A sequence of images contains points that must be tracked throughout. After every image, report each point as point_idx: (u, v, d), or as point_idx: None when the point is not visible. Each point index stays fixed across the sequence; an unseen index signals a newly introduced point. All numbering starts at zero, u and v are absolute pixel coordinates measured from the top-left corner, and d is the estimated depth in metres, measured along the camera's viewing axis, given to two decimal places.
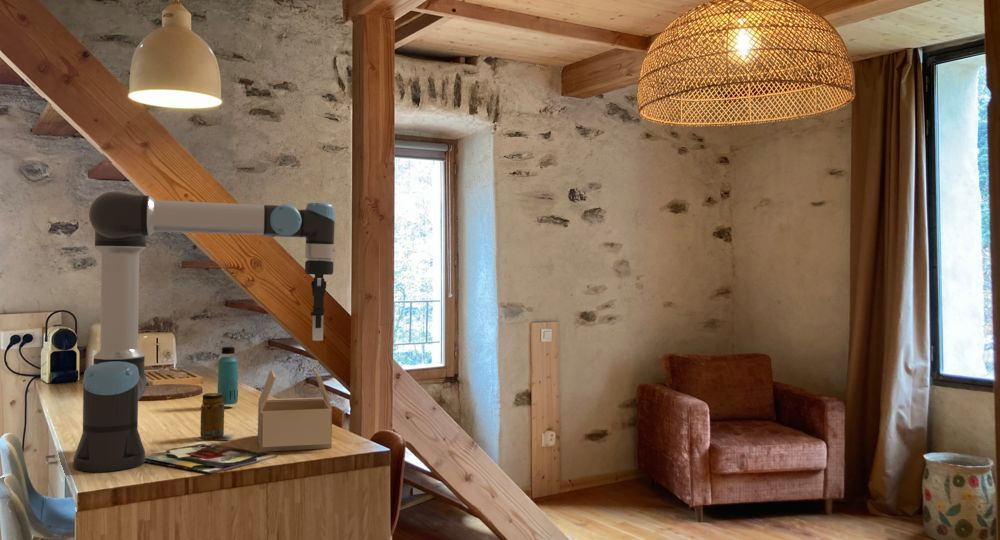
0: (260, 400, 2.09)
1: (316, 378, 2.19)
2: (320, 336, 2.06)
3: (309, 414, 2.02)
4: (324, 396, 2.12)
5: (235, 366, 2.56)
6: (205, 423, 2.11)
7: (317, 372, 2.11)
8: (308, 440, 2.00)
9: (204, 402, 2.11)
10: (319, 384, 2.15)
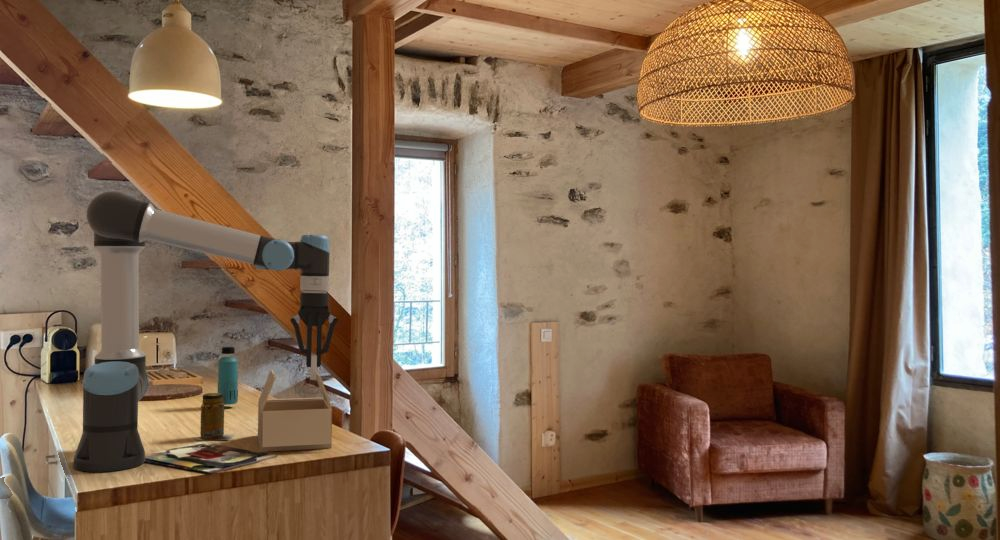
0: (260, 400, 2.09)
1: None
2: (310, 375, 2.10)
3: (309, 414, 2.02)
4: (324, 396, 2.12)
5: (235, 366, 2.56)
6: (205, 423, 2.11)
7: (317, 372, 2.11)
8: (308, 440, 2.00)
9: (204, 402, 2.11)
10: (319, 384, 2.15)
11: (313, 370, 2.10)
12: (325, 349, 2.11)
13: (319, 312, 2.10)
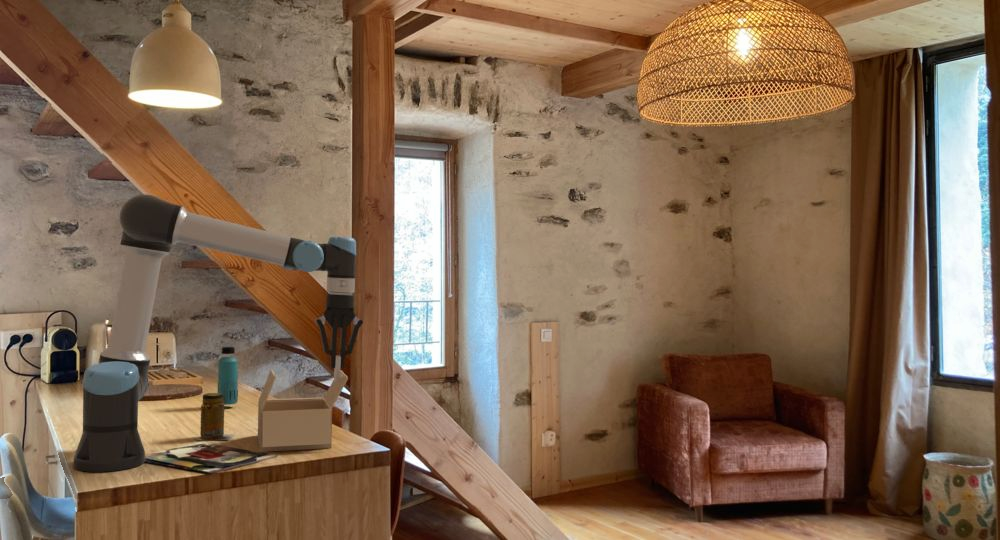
0: (260, 400, 2.09)
1: None
2: (334, 376, 2.12)
3: (309, 414, 2.02)
4: (331, 395, 2.12)
5: (235, 366, 2.56)
6: (205, 423, 2.11)
7: None
8: (308, 440, 2.00)
9: (204, 402, 2.11)
10: (334, 384, 2.16)
11: (337, 371, 2.12)
12: (349, 350, 2.13)
13: (344, 314, 2.13)
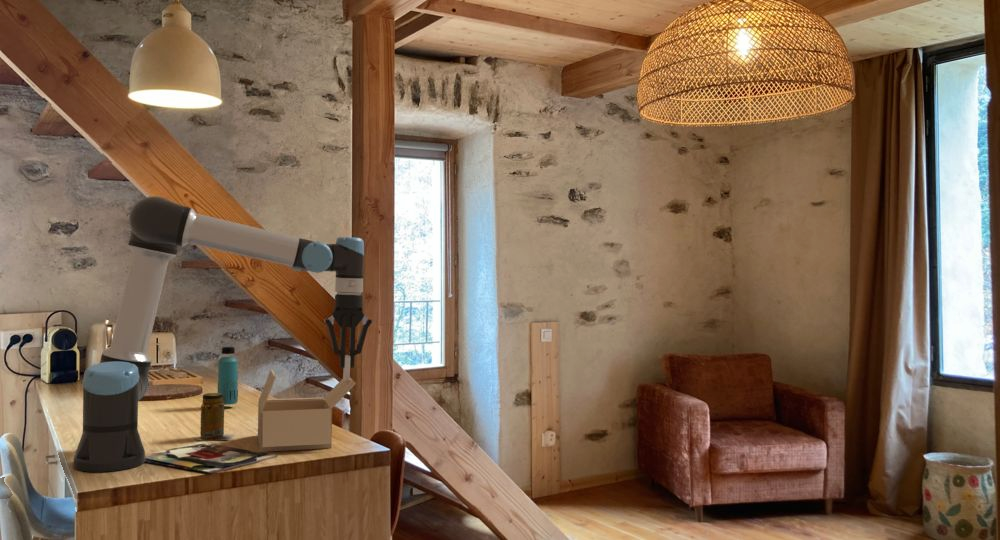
0: (260, 400, 2.09)
1: None
2: (344, 376, 2.13)
3: (309, 414, 2.02)
4: (333, 397, 2.12)
5: (235, 366, 2.56)
6: (205, 423, 2.11)
7: (351, 379, 2.14)
8: (308, 440, 2.00)
9: (204, 402, 2.11)
10: (338, 387, 2.16)
11: (347, 371, 2.13)
12: (359, 350, 2.14)
13: (353, 314, 2.13)
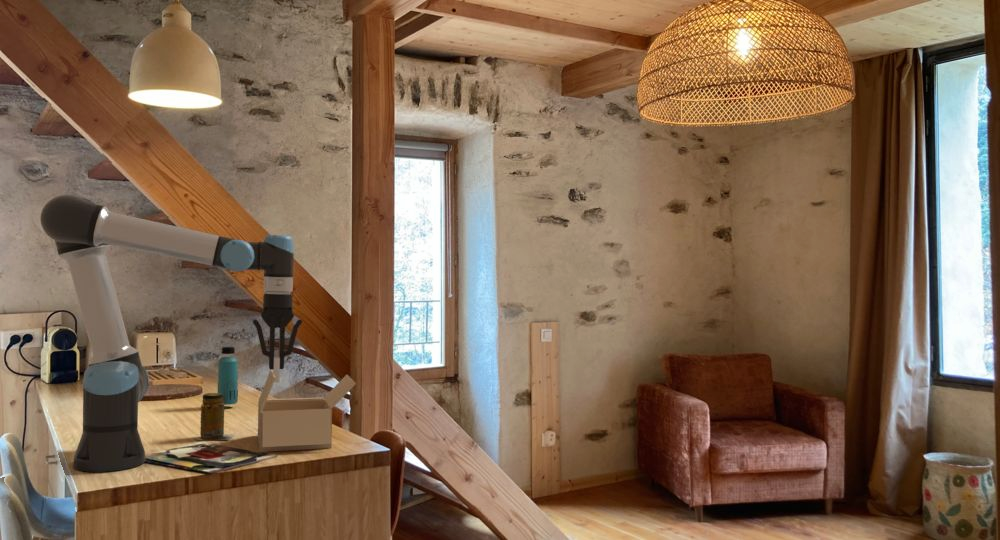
0: (260, 400, 2.09)
1: None
2: None
3: (309, 414, 2.02)
4: (333, 397, 2.12)
5: (235, 366, 2.56)
6: (205, 423, 2.11)
7: None
8: (308, 440, 2.00)
9: (204, 402, 2.11)
10: (338, 387, 2.16)
11: (276, 372, 2.07)
12: (289, 351, 2.08)
13: (282, 314, 2.07)
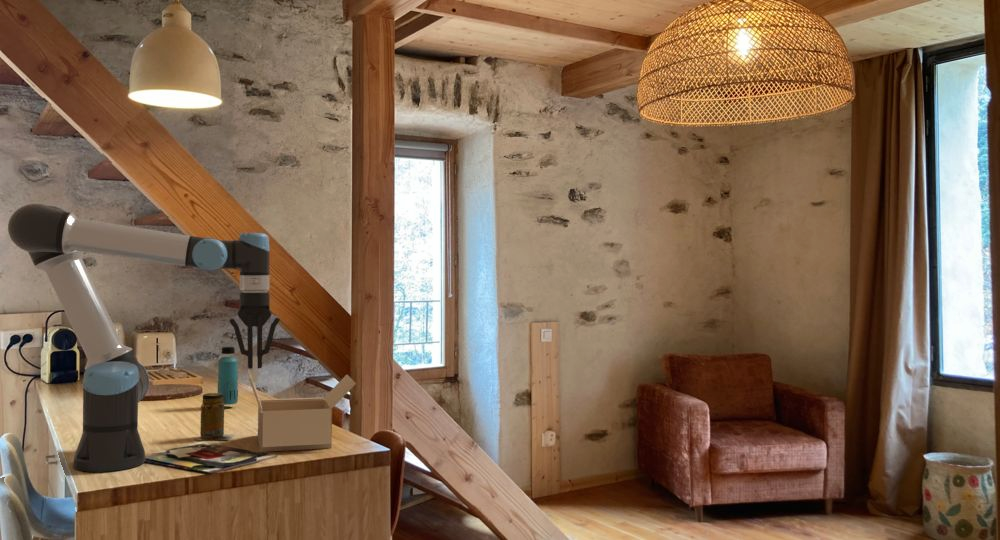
0: None
1: None
2: (252, 377, 2.05)
3: (309, 414, 2.02)
4: (333, 397, 2.12)
5: (235, 366, 2.56)
6: (205, 423, 2.11)
7: None
8: (308, 440, 2.00)
9: (204, 402, 2.11)
10: (338, 387, 2.16)
11: (254, 372, 2.05)
12: (266, 350, 2.06)
13: (259, 312, 2.05)
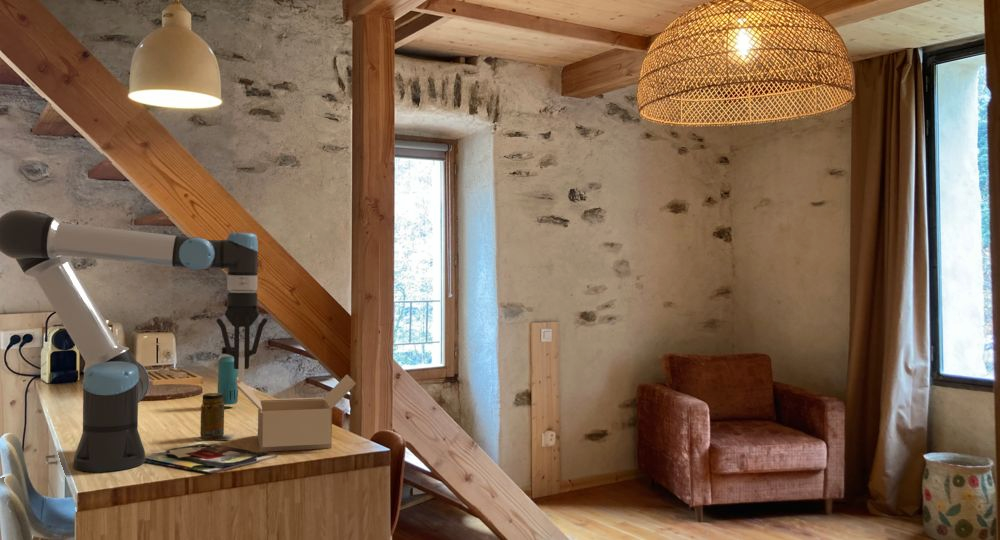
0: None
1: None
2: (238, 377, 2.04)
3: (309, 414, 2.02)
4: (333, 397, 2.12)
5: None
6: (205, 423, 2.11)
7: None
8: (308, 440, 2.00)
9: (204, 402, 2.11)
10: (338, 387, 2.16)
11: (241, 372, 2.04)
12: (254, 350, 2.05)
13: (247, 312, 2.04)
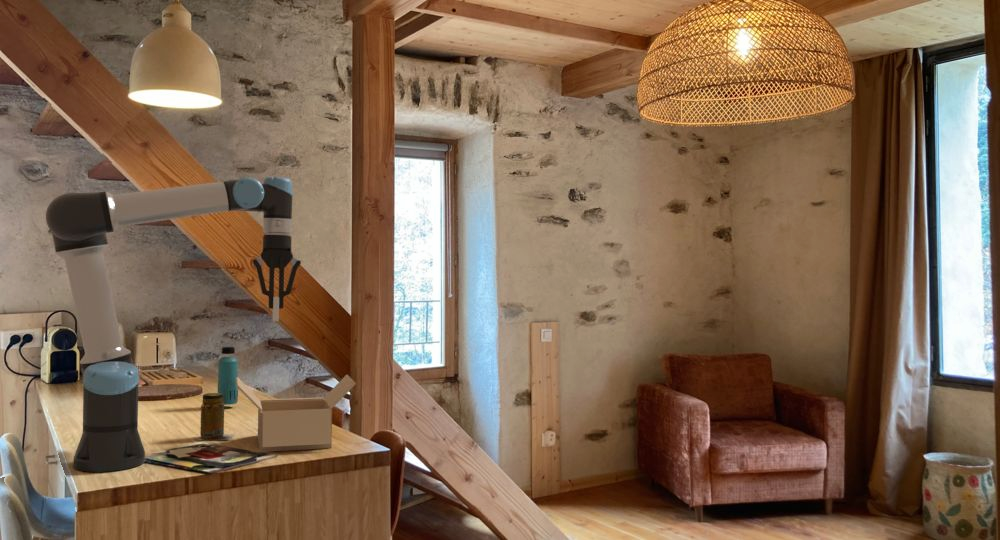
0: None
1: None
2: (273, 317, 2.13)
3: (309, 414, 2.02)
4: (333, 397, 2.12)
5: (235, 366, 2.56)
6: (205, 423, 2.11)
7: None
8: (308, 440, 2.00)
9: (204, 402, 2.11)
10: (338, 387, 2.16)
11: (276, 312, 2.12)
12: (288, 291, 2.13)
13: (281, 254, 2.13)
